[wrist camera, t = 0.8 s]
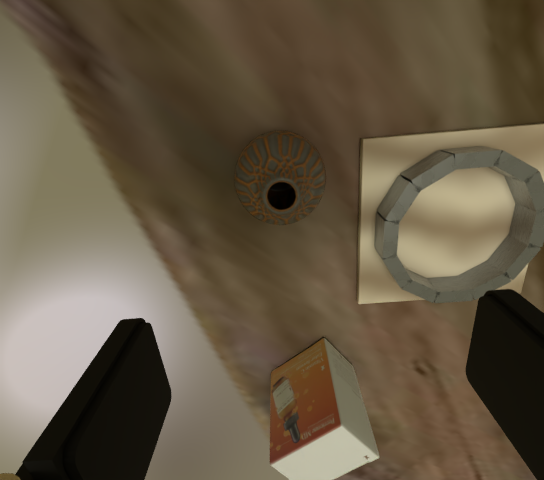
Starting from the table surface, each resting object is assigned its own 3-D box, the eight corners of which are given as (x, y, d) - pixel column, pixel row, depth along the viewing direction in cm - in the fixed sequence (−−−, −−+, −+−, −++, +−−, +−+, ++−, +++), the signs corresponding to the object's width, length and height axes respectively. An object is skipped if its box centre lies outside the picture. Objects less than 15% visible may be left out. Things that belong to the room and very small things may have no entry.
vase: (335, 165, 28) (360, 192, 20) (281, 221, 30) (285, 266, 22) (276, 108, 26) (277, 112, 18) (223, 172, 28) (203, 200, 20)
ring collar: (378, 154, 27) (388, 159, 24) (544, 140, 26) (570, 144, 24) (372, 292, 32) (379, 306, 30) (510, 282, 32) (528, 296, 29)
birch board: (360, 138, 27) (363, 139, 26) (556, 121, 26) (564, 122, 26) (356, 299, 33) (358, 304, 33) (515, 288, 33) (520, 292, 32)
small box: (324, 335, 35) (343, 423, 26) (353, 365, 37) (382, 458, 27) (268, 371, 37) (267, 466, 28) (299, 398, 39) (308, 496, 29)
